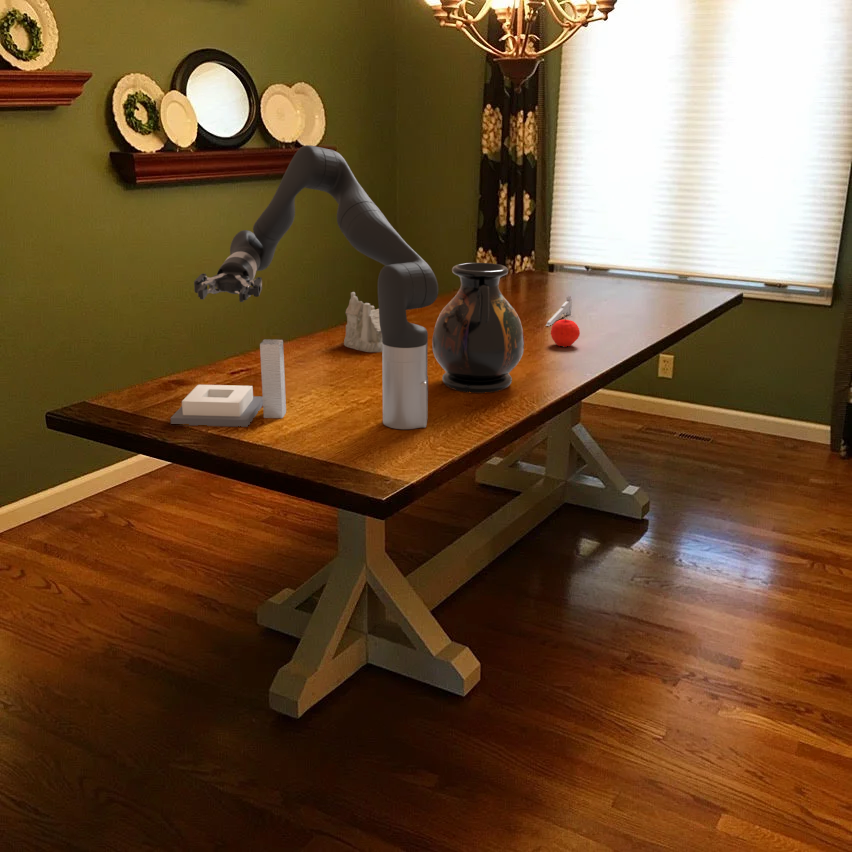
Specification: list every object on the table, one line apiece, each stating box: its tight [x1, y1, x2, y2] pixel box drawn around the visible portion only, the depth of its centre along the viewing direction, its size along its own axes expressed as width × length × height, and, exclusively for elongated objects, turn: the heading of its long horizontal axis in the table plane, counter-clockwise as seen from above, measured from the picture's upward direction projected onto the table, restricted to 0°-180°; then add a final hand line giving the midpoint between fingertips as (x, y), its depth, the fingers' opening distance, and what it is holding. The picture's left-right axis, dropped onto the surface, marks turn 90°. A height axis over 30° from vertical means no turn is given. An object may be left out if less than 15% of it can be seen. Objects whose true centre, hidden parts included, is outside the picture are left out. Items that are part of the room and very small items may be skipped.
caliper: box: [545, 295, 573, 327], centre depth 286 cm, size 20×1×6 cm, turn 153°
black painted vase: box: [431, 262, 525, 394], centre depth 217 cm, size 22×22×28 cm
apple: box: [550, 319, 581, 348], centre depth 256 cm, size 8×8×7 cm
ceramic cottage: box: [343, 291, 382, 353], centre depth 256 cm, size 16×16×15 cm
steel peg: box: [259, 339, 287, 419], centre depth 197 cm, size 4×4×16 cm
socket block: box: [170, 384, 263, 428], centre depth 199 cm, size 16×16×4 cm
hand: (221, 296), depth 200 cm, fingers open, 8 cm apart
